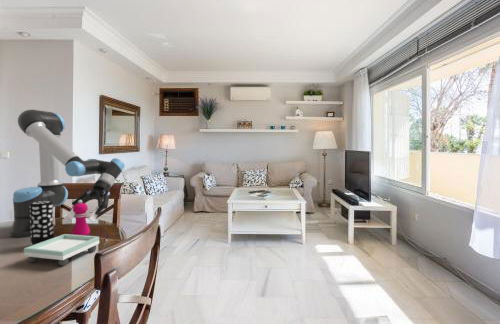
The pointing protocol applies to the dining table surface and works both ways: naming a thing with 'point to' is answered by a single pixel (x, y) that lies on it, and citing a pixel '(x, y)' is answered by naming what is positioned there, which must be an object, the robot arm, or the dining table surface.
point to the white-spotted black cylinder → (41, 221)
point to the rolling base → (61, 247)
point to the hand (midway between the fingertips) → (79, 219)
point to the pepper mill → (80, 219)
